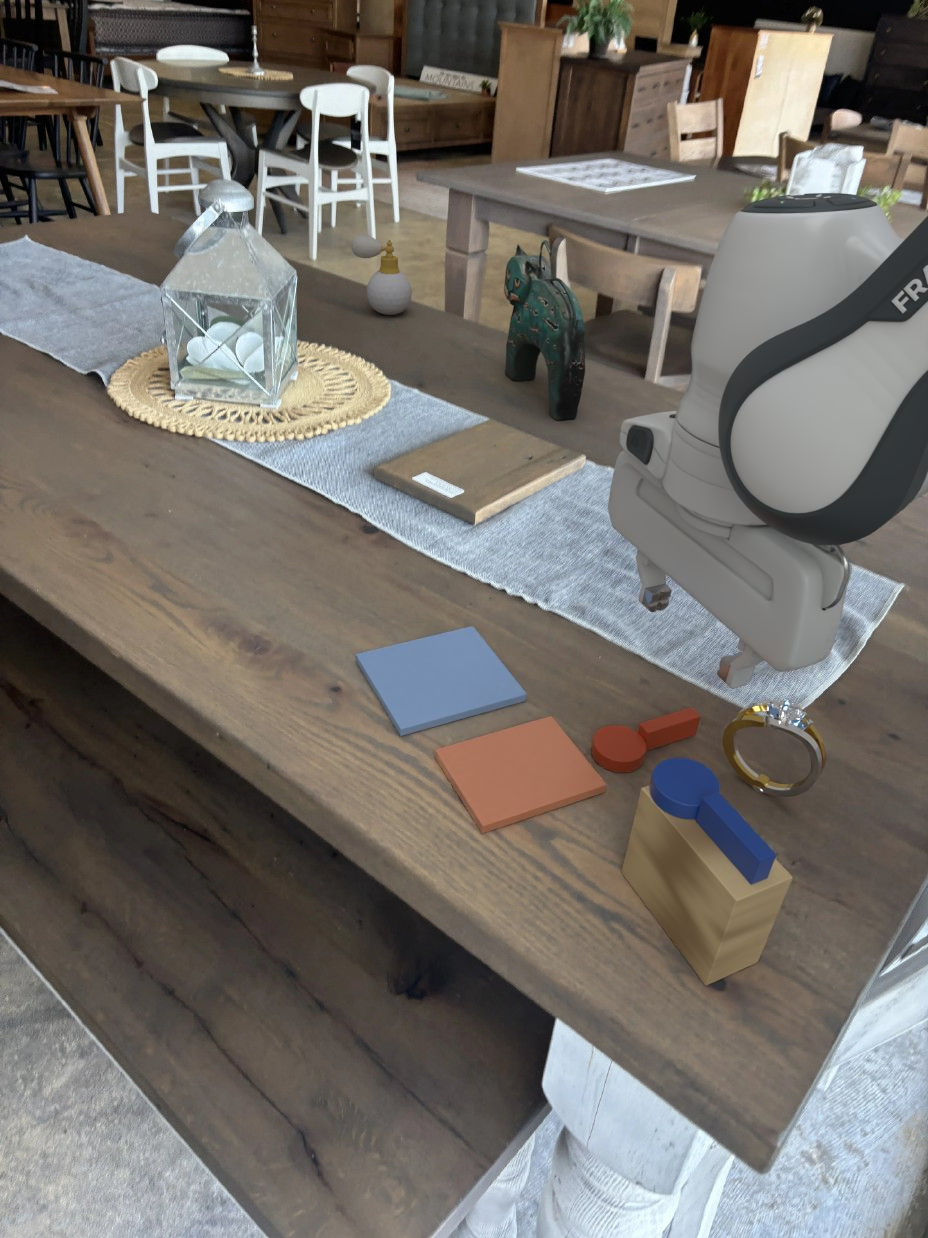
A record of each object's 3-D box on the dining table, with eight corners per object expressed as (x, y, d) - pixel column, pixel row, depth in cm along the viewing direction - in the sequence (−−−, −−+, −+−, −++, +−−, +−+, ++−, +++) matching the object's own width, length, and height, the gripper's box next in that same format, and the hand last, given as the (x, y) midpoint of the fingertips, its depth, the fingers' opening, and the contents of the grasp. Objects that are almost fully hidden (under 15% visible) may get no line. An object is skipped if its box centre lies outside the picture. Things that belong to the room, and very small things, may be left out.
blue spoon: (787, 870, 50) (796, 846, 49) (730, 893, 49) (739, 869, 48) (688, 763, 57) (695, 740, 56) (636, 781, 55) (641, 758, 54)
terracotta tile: (605, 792, 66) (607, 784, 65) (482, 834, 62) (482, 826, 61) (550, 723, 71) (551, 715, 71) (434, 757, 68) (434, 749, 67)
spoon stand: (758, 962, 55) (793, 877, 50) (705, 986, 53) (736, 901, 49) (670, 853, 61) (693, 769, 57) (620, 872, 60) (640, 787, 55)
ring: (813, 801, 66) (846, 719, 61) (794, 826, 64) (826, 743, 59) (726, 754, 69) (751, 673, 65) (706, 776, 67) (730, 694, 63)
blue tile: (526, 701, 73) (527, 693, 73) (400, 736, 69) (400, 729, 69) (472, 632, 81) (473, 625, 80) (355, 661, 76) (355, 653, 76)
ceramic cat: (493, 370, 134) (504, 226, 122) (533, 367, 135) (548, 224, 124) (547, 424, 119) (565, 265, 107) (592, 420, 120) (614, 263, 109)
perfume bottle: (414, 319, 151) (416, 243, 144) (356, 320, 149) (355, 243, 142) (407, 305, 157) (408, 232, 150) (351, 306, 155) (349, 231, 148)
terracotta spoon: (676, 714, 73) (681, 695, 72) (707, 746, 70) (712, 727, 69) (581, 744, 70) (584, 724, 68) (609, 779, 67) (613, 759, 66)
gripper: (899, 540, 51) (826, 721, 59) (680, 401, 66) (646, 562, 74) (815, 560, 49) (751, 747, 57) (608, 412, 63) (580, 577, 71)
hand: (690, 641), depth 65 cm, fingers open, 8 cm apart
